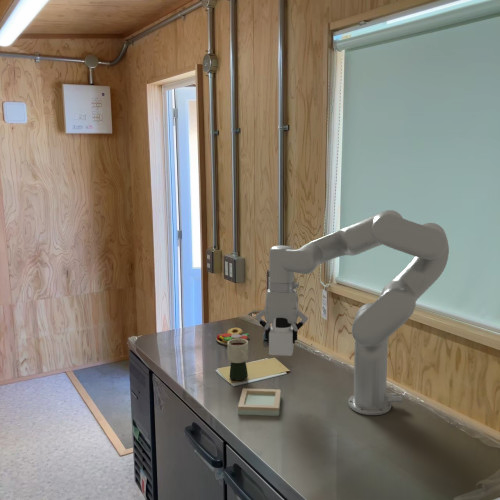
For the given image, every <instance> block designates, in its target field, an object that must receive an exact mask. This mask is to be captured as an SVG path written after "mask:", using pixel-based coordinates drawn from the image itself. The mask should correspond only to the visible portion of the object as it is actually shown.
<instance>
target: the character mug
mask: <svg viewBox="0 0 500 500" xmlns="http://www.w3.org/2000/svg"><path fill="white" fill-rule="evenodd" d="M226 346H227V349H226V351H227V360H228V362H229V363H230V369H229V378H230V379H231V380H235V381H236V380H238V381H239V380H240V379H241V380H245V379H248V378H249V377H248V376H249V375H248V368H247V364H246V363H247V361H248V360H249V357H250V356H249V340H248V339H247V340H245V339H232V340H229V341H228V342H227V345H226ZM241 380H240V381H241Z"/></svg>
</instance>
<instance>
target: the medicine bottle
mask: <svg viewBox="0 0 500 500" xmlns="http://www.w3.org/2000/svg"><path fill="white" fill-rule="evenodd" d="M270 328H271V329H270V332H269V342H268V355H269V356H284V357H285V356H286V357H292V356H293V353H294V345H295V344H293V332H292V331H293V327H292V325H291V324H290V323H288V320H287V319H286V318H275V319H274V322H273V323H271V325H270Z"/></svg>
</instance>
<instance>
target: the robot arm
mask: <svg viewBox="0 0 500 500" xmlns="http://www.w3.org/2000/svg"><path fill="white" fill-rule="evenodd" d="M382 245H383V246H385V247H388V248H389V249H390V248H391V249H393V250H396V251H398V252H402V253H405V254H407V255H410V256H413V259H412V260H411V261H410V262H409V263H408V264H407V265H406V266H405V268H404V269H402V270H401V271H400V272H399V273H398V274H397V275H396V276H395V277H393V279H391V280H390V281H389V282H388V283H387V284H386V285H384V287H383V288H382V290H381V293H380V295H379V297H378V298H377V299H376V300H375V301H374V302H369V303H365V304H363V305H362V306H360V307H359V308H358V310H357V311H356V313H355V315H354V316H355V317H354V319H353V322H352V325H351V334H352V337H353V339H354V361H353V362H354V363H353V364H354V365H353V366H354V370H353V394H352V395H351V396H350V397H349V398H348V402H347V403H348V407H349V408H350V409H351V410H352V411H354V412H356V413H359V414H361V415H367V416H381V415H384V414H387V413H388V412H390V410H391V408H392V403H395V404H403V396H401V395H398V394H397V393H396V392H394V393H391V392H390V393H389V392H388V391H387V380H388V379H387V372H388V351H389V350H388V348H389V346H388V345H389V338H390V337H391V336H392V335H393V334H394V333H395V332H396V331H397V330H399V329H400V328H401V327H402V326H403V325H404V324H405V323H406V322H407V321H408V320H409V319H410V318H411V317H412V315H413V314H414V312H415V309H416V306H417V305H416V303H417V302H418V301H417V300H418V299H419V298H420V297H422V295H424V293H426V292H427V291H428V289H430V287H431V286H432V285H434V284H435V283H436V281H437V280H438V279H439V278H440V277H441V276H442V274H443V272H444V270H445V269H446V266H447V263H448V260H449V253H450V245H449V241H448V237H447V234H446V232H445V229H444V228H443V227H442V226H441V225H439V224H437V223H435V222H434V223H433V222H426V223H423V224H420V223H417V222H414V221H412V220H408V219H405V218H403V216H402V214H400V213H399V212H398V211H396V210H391V209H388V210H384V211H381V212H378V213H376V214H373V215H371V216H370V217H369V216H368V217H367V218H364V219H363V220H359V221H358V222H355V223H353V224H351V225H348V226H345V227H343V228H341V229H339V230H337V231H335V232H332V233H330V234H327V235H325V236H322V237H320V238H318V239H315V240H312V241H310V242H309V243H308V242H307V243H306V244H304V245H302V246H301V247H300V248H298V249H294V248H293V247H292V246H290V245H273V246H272V247H270V249H269V257H268V258H269V262H268V265H269V266H268V267H269V269H268V270H269V273H268V274H269V276H268V277H269V281H268V283H269V286H268V287H269V288H268V289H267V290H266V295H265V303H264V304H265V305H264V309H261V311H259V312H258V313H257V314H256V315H255V317H254V318H255V319H256V321H257V322H258V323H259V324H260V326H261V327H263V329H264V335H265V336H264V338H265V340H266V342H267V343H269V332H270V329H271V325H272V323H273V322H274V319H275V318H286V319H287V320H288V323H290V324H291V327H293V331H292V332H293V344H294V345H295V344H296V341H298V331H299V330H300V329H301V328H302V327H303V326H304V324H305V323H307V322H308V318H309V317H308V316H307V315H305V314H304V313H303V312H302V311H301V310H299V299H298V291H297V290H296V289H298V288H299V286H300V283H299V282H296V281H295V274H296V273H297V274H301V275H309V274H312V273H313V272H314V271H315V270H316V269H317V267H319V265H322V264H324V263H326V262H329V261H331V260H334V259H337V258H339V257H344V256H351V257H352V256H357V255H359V254H362V253H365V252H367V251H369V250H372V249H374V248H377V247H379V246H382ZM262 317H264V319H263V318H262ZM299 318H300V319H301V320H300V321H299V322H298V319H299ZM297 322H298V323H297ZM397 395H398V396H397Z"/></svg>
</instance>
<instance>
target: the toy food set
mask: <svg viewBox="0 0 500 500" xmlns="http://www.w3.org/2000/svg"><path fill="white" fill-rule="evenodd" d="M243 332H244V331H243V330H242V329H241V328H239V327H231V328H230V329H229V328H228V329H227V332H225V333H221V334H217V335H216V338H215V339H216V341H217V342H218V343H219V344H221V345H223V346H227V342H228V341H229V340H232V339H245V340H247V341H248V338H249V335H250V334H249V332H247V333H243Z"/></svg>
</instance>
